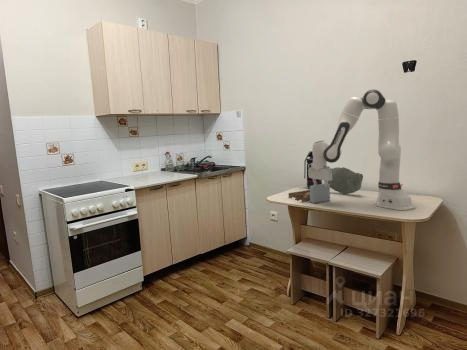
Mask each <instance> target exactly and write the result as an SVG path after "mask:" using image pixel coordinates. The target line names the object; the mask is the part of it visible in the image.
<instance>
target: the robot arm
mask: <svg viewBox="0 0 467 350" xmlns="http://www.w3.org/2000/svg"><path fill="white" fill-rule="evenodd" d="M364 110H376V111H377V117H378V120H377V121H378V152H377V153H378V156H379V157H380V162H379V172H378V173H379V177H378V180H379V181H378V186H377V187H378V192H377V194H378V195H377V198H376V203H375V205H376V207H379V208H384V209H390V210H396V211H410V210H413V209H416V208H417V206H416V204H412V198H411V196H410V195H409V194H408V193H407V192H405V190H404V189H402V187H403V185H404V184H401V182H400V166H401V155H402V153H401V151H402V150H401V149H402V148H401V145H400V144H399V143H400V142H399V141H400V137H399V136H400V121H399V120H400V118H399V109H398V104H397V102H396V101H395V100H393V99H386V98H385V96H384V95H383V94H382V93H381V91H380V90H378V89H368V90H367V91H366V92H365V93H364V94H363V95H362V97H359V96H352V97H349V98H348V100H347V102H346V103H345V105H344V107H343V108H342V111H341V113H340V115H339V119H338V123H337V128H336V131H335V134H334V136H333V138H332V140H331V142H330V143H329V142H328V141H326V140H318V141H315V142H314V143H313V144H312V154H313V163H311V164H309V165H308V168H309V169H308V176H309V178H313V182H314V185H317V182H316V179H319V180H322V181H323V182H324V183H322V184H323V187H327V184H328V181H331V180H332V171H331V169H332V168H331V167H330V166H328V165H327V163H330V164H331V163H336V162H338V161H339V159H340V158H341V155H342V150H341V148H342V145H343V144H344V141H345V139H346V137H347V135H348V134H349V132H350V131H351V130H352V129H354V127H355V126H356V124H357V122H358V121H359V118H360V117H361V114H362V112H363V111H364Z"/></svg>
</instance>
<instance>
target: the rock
mask: <svg viewBox="0 0 467 350" xmlns="http://www.w3.org/2000/svg"><path fill="white" fill-rule="evenodd" d="M331 171H332V180H331V181H328V183H327V184H330V189H332V190H333V191H334V192H338V193H340V194H342V195H349V194H353V193H356V192H358V191H359V190H360V189H362V184H363V181H364V180H363V179H364V175H363V173H359V172H355V171H353V170H351V169H350V168H346V167H344V166H343V167H333V168H331Z"/></svg>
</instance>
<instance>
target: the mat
mask: <svg viewBox="0 0 467 350" xmlns="http://www.w3.org/2000/svg"><path fill="white" fill-rule="evenodd" d="M308 202H309V203H311V202H310V201H308ZM329 202H331V199H330V200H328V201H322V202H317V203H313V204H314V205H315V204H316V205H317V204H323V203H329Z"/></svg>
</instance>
